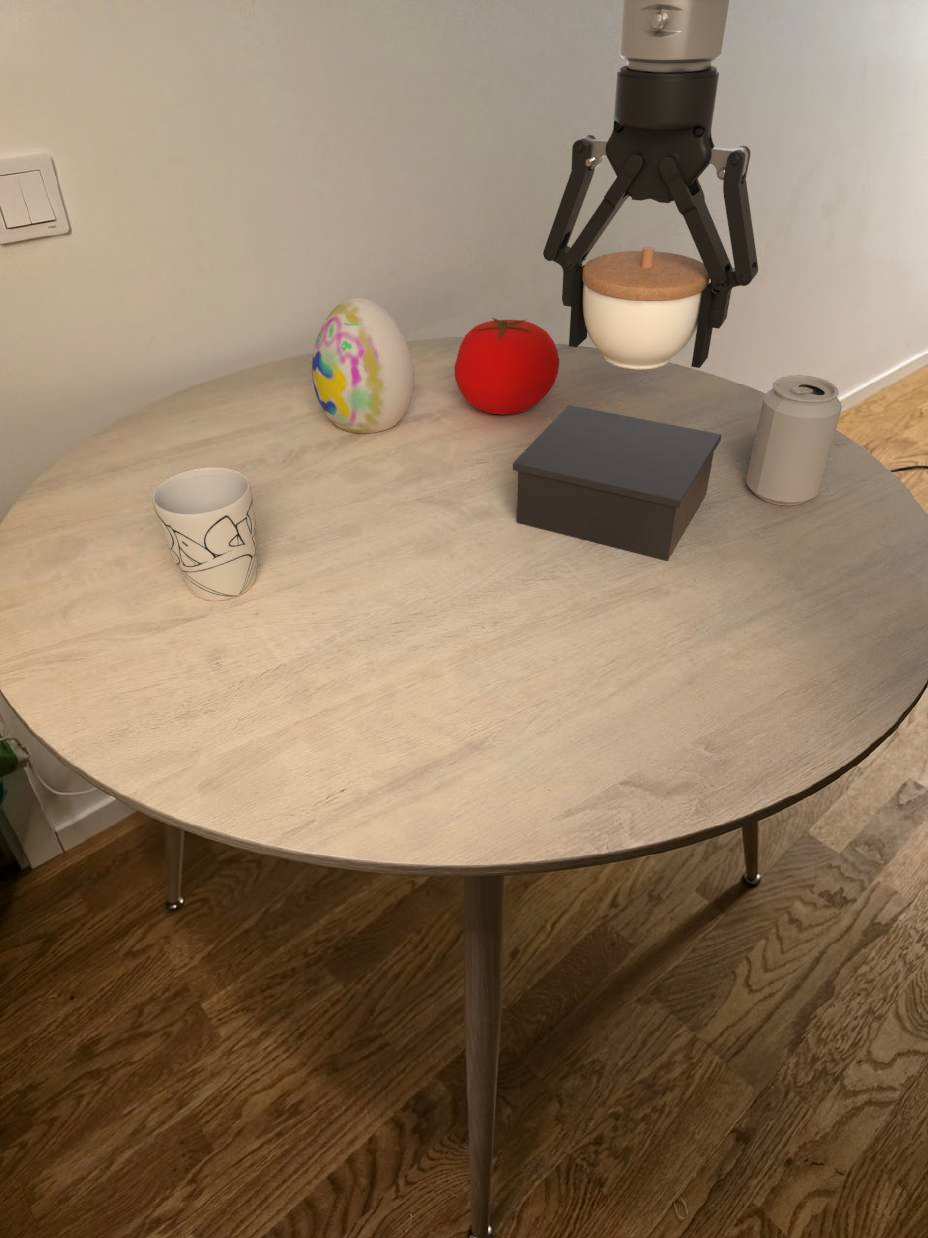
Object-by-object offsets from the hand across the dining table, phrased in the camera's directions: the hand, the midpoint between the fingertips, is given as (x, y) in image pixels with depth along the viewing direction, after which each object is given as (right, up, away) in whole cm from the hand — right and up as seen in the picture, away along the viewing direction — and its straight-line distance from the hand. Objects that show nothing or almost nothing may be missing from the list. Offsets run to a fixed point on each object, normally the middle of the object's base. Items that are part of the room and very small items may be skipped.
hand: (637, 351), depth 78 cm
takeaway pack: (0, -13, +13) cm, 18 cm away
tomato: (-10, +3, +33) cm, 35 cm away
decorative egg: (-28, +1, +31) cm, 41 cm away
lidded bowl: (0, -1, 0) cm, 1 cm away
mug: (-39, -20, +5) cm, 45 cm away
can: (+18, -11, +15) cm, 26 cm away
